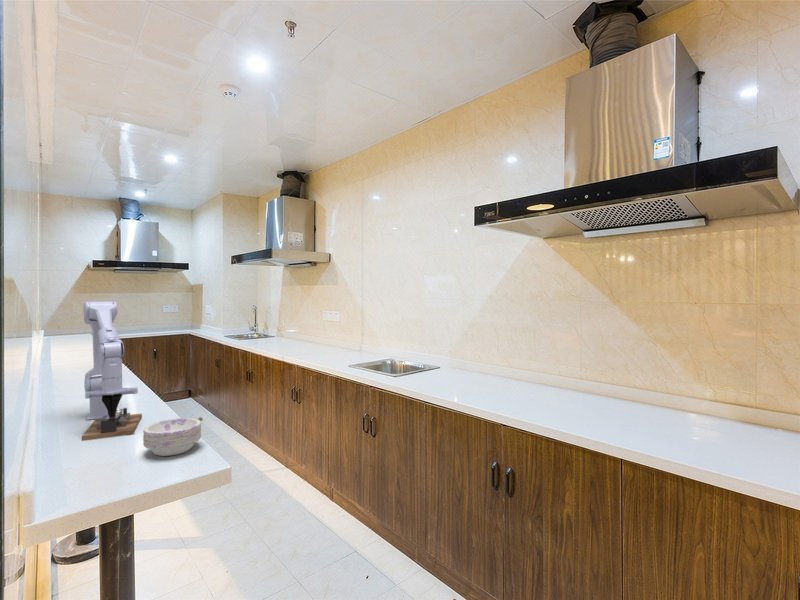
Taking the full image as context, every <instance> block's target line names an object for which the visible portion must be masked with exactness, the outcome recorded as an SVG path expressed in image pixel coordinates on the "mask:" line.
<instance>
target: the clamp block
mask: <svg viewBox="0 0 800 600" xmlns="http://www.w3.org/2000/svg"><path fill="white" fill-rule="evenodd" d="M122 409H123V412H122V414H121V415H120V416H119V417H118V418H112V419H105V418H106V417H107V416H108V415H109V413H108V415H105V416H103V417H102V418H101V419H100V421H99V422H98V423H97V430H101V433H109V432H116V430H117V428H118V427H125V426H126V425H127V423H128V421H129V420H130V415H131V413H130V412H128V407H123V408H122Z"/></svg>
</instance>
